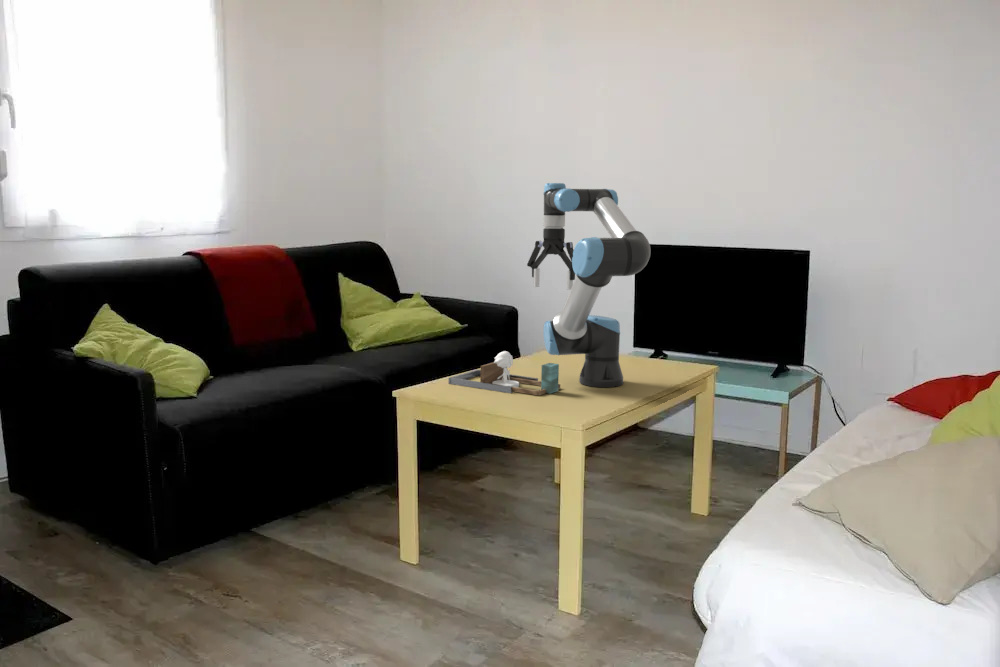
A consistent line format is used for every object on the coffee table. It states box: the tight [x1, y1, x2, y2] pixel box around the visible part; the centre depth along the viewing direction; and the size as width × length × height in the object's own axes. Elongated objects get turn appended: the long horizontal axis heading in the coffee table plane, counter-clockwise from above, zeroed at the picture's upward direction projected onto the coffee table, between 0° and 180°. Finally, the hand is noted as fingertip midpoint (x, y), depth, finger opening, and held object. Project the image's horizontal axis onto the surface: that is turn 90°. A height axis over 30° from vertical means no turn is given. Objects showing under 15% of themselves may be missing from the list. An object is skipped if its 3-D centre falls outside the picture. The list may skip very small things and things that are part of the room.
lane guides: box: [448, 369, 539, 394], centre depth 297 cm, size 25×17×2 cm
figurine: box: [492, 350, 520, 388], centre depth 294 cm, size 9×9×12 cm
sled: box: [479, 361, 561, 396], centre depth 290 cm, size 25×14×9 cm, turn 57°
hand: (552, 288), depth 306 cm, fingers open, 13 cm apart
